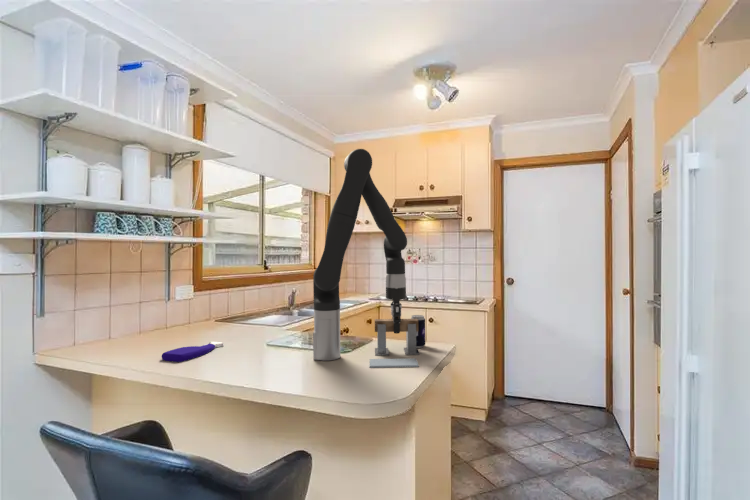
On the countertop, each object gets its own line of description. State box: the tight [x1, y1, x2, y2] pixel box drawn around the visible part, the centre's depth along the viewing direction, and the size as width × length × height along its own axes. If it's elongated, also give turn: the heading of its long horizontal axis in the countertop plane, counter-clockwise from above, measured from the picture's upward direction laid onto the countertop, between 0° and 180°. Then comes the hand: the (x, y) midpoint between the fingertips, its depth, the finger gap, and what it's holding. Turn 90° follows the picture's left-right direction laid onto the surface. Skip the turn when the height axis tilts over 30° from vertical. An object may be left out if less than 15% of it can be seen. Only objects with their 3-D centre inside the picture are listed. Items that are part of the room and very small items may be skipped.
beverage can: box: [410, 314, 426, 349], centre depth 158 cm, size 6×6×12 cm
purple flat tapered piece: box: [161, 341, 224, 363], centre depth 152 cm, size 3×11×24 cm
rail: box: [374, 318, 418, 333], centre depth 150 cm, size 16×4×4 cm, turn 91°
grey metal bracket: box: [374, 324, 390, 356], centre depth 150 cm, size 5×8×11 cm, turn 1°
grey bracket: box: [403, 324, 420, 356], centre depth 150 cm, size 5×8×11 cm, turn 1°
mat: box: [369, 357, 420, 369], centre depth 135 cm, size 16×8×1 cm, turn 91°
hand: (396, 331), depth 150 cm, fingers open, 5 cm apart
